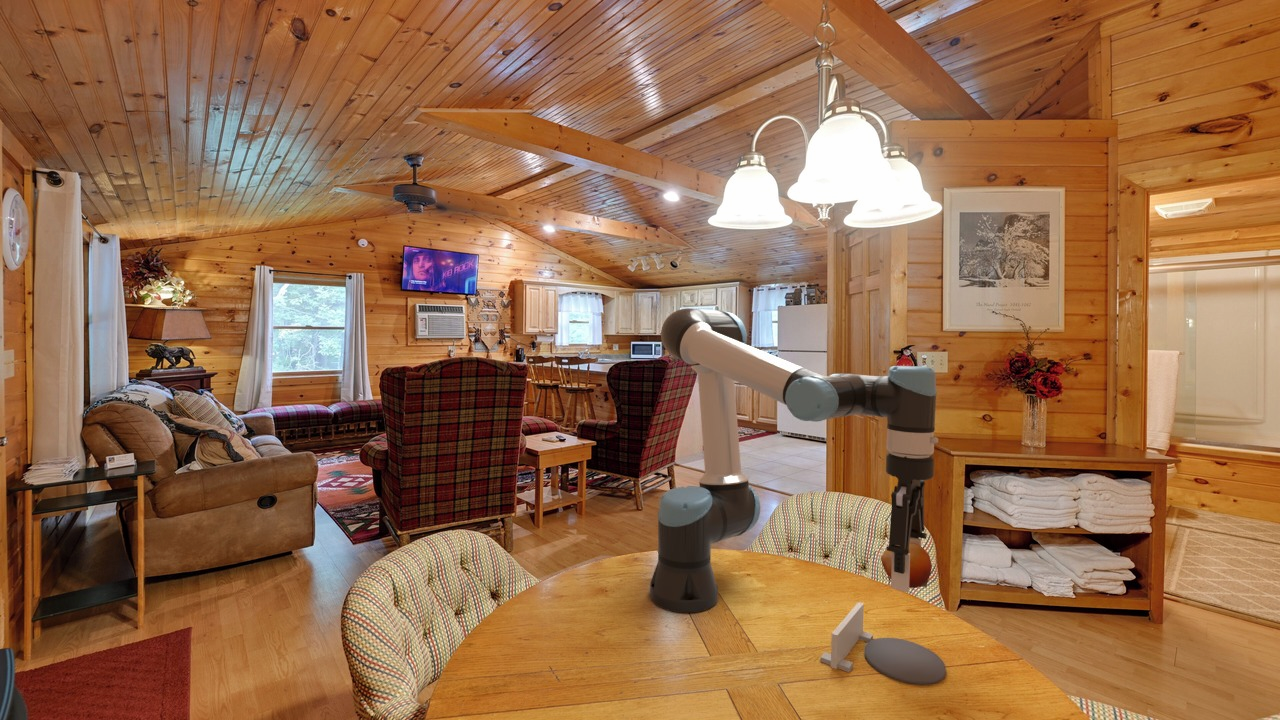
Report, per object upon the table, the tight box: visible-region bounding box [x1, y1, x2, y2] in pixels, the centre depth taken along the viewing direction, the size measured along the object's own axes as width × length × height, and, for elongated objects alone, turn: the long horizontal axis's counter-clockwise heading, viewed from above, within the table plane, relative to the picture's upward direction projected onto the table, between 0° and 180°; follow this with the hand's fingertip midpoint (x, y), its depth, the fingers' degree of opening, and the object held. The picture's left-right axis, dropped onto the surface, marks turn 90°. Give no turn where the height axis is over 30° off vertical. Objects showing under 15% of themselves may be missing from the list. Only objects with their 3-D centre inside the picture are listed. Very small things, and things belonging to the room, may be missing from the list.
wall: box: [820, 601, 874, 673], centre depth 100 cm, size 5×15×6 cm, turn 141°
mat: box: [863, 637, 947, 686], centre depth 96 cm, size 13×13×1 cm
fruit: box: [880, 542, 933, 589], centre depth 96 cm, size 8×8×8 cm
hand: (906, 580), depth 96 cm, fingers closed on fruit, 8 cm apart
